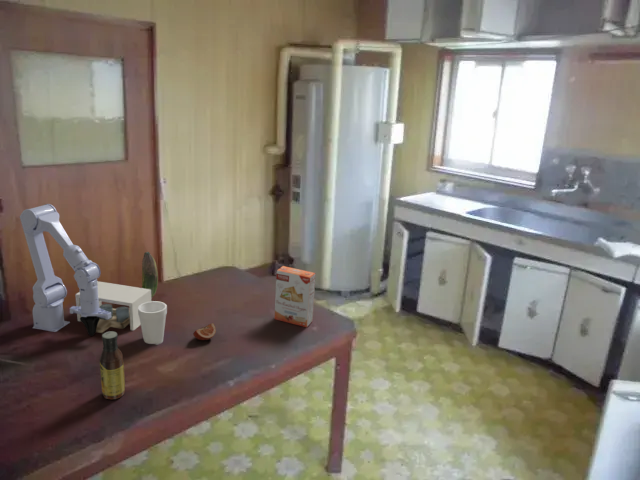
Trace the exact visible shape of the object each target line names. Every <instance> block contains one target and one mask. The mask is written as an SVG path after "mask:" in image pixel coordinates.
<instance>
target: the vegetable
mask: <svg viewBox="0 0 640 480" xmlns="http://www.w3.org/2000/svg"><path fill="white" fill-rule="evenodd" d="M141 262H142V263H141V288H144V289H151V299H153V297H154V296H156V293H157V291H158V290H157V289H158V283H159V281H158V280H159V275H158V274H159V273H158V268H157V263H156V260H155V258H154V256H153V255H152V254H151V253H150V251H146V252H144V253H143V257H142V261H141Z"/></svg>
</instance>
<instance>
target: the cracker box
mask: <svg viewBox="0 0 640 480" xmlns="http://www.w3.org/2000/svg"><path fill="white" fill-rule="evenodd" d="M316 275H317V274H316V272H312V271H309V270H303V269H298V268H294V267H291V266H290V267H289V266H285V265H282V266H281V267H280V268H278V269H277V270H276V276H275V299H274V318H273V319H274V320H276V321H280V322H284V323H287V324H288V323H289V324H291V325H292V324H293V325H295V326H300V327H303V328H308V327H309V326H310V325H311V324H312V323H313V320H314V319H313V317H314V304H315V289H316Z"/></svg>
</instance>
